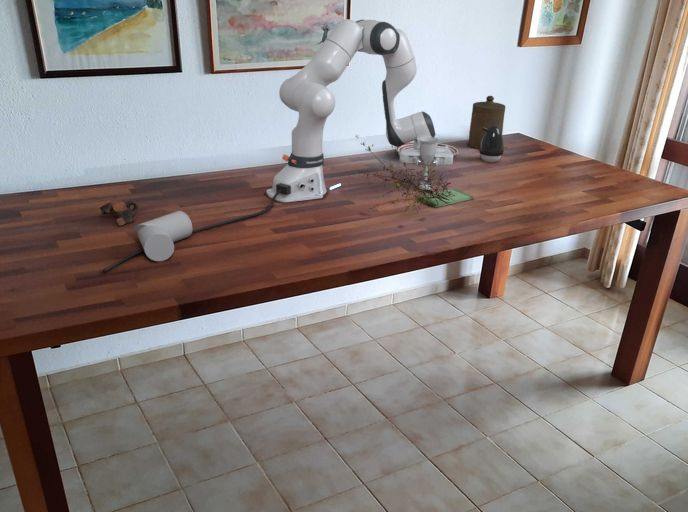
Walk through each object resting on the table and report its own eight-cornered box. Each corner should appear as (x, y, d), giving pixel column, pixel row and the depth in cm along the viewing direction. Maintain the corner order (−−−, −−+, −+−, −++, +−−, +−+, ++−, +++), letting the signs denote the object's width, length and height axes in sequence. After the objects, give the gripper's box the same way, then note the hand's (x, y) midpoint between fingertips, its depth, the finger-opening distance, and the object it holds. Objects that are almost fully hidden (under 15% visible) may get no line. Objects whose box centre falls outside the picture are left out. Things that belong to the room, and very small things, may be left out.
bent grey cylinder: (127, 235, 215) (138, 260, 200) (131, 202, 211) (141, 225, 195) (185, 239, 223) (199, 264, 208) (189, 208, 219) (204, 230, 203)
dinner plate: (397, 145, 318) (398, 138, 316) (457, 149, 315) (458, 142, 314) (392, 162, 295) (392, 154, 293) (457, 167, 292) (458, 159, 290)
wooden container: (491, 140, 331) (497, 92, 319) (506, 148, 319) (513, 98, 307) (462, 142, 326) (467, 93, 315) (477, 150, 314) (483, 100, 303)
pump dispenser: (475, 157, 304) (479, 122, 297) (498, 157, 306) (502, 122, 298) (481, 164, 296) (485, 128, 288) (504, 164, 297) (509, 128, 289)
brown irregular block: (111, 230, 223) (98, 206, 221) (108, 233, 232) (96, 210, 230) (145, 214, 227) (133, 191, 225) (141, 218, 236) (129, 195, 234)
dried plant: (450, 150, 248) (346, 103, 223) (497, 183, 225) (386, 135, 200) (410, 225, 260) (307, 188, 235) (450, 264, 237) (341, 228, 212)
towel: (435, 207, 248) (435, 204, 248) (417, 199, 255) (417, 196, 255) (472, 199, 257) (472, 195, 257) (454, 191, 264) (454, 188, 264)
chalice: (427, 191, 259) (431, 143, 250) (411, 188, 263) (415, 139, 253) (437, 187, 264) (441, 139, 255) (422, 183, 268) (426, 136, 258)
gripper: (398, 143, 268) (399, 153, 256) (452, 146, 268) (455, 156, 256) (397, 160, 272) (398, 170, 260) (450, 162, 271) (453, 172, 259)
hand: (427, 163), depth 258 cm, fingers closed on chalice, 5 cm apart
